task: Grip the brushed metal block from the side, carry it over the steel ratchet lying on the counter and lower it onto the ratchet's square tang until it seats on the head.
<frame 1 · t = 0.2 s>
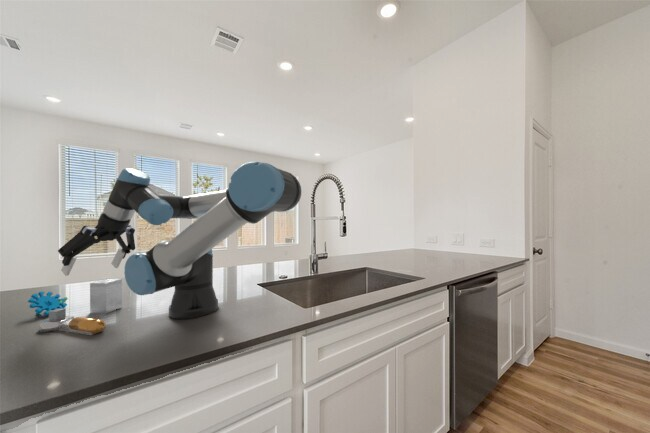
hand: (91, 269, 84), 16 cm above the worktop, tool tilted 35°, fingers open, 13 cm apart
brushed metal block: (106, 310, 90), on the worktop
gear: (49, 314, 87), on the worktop
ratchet: (57, 326, 76), on the worktop
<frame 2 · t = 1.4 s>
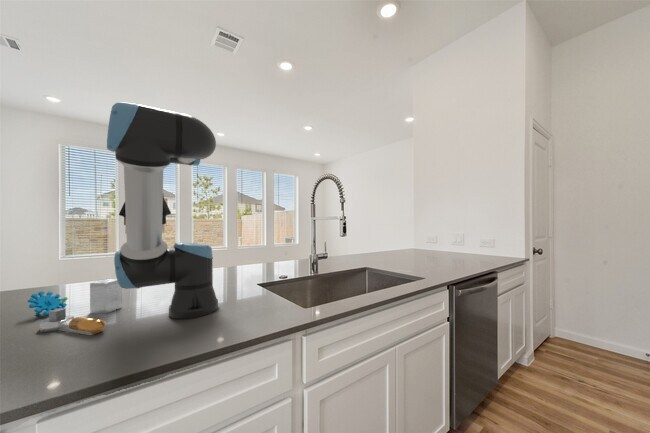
hand: (144, 233, 102), 26 cm above the worktop, tool pointing down, fingers open, 13 cm apart
nothing on the worktop moved.
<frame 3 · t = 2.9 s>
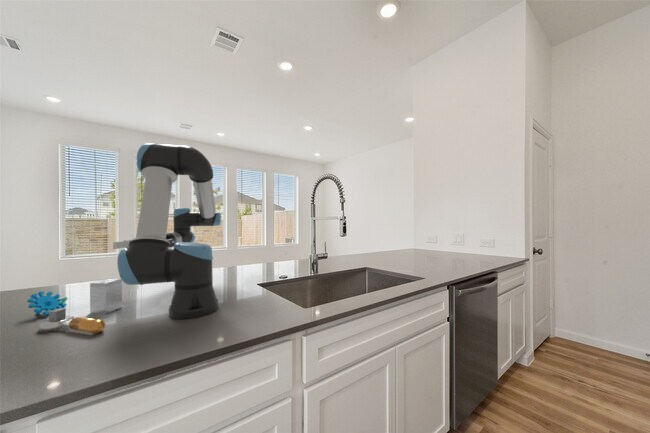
hand: (129, 245, 99), 22 cm above the worktop, tool horizontal, fingers open, 13 cm apart
nothing on the worktop moved.
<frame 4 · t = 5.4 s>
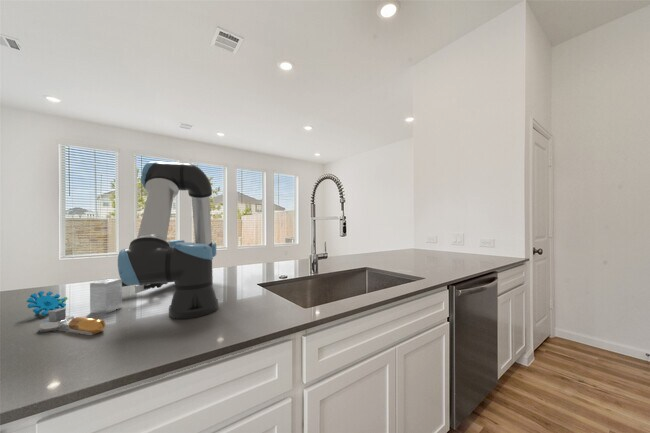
hand: (118, 289, 95), 6 cm above the worktop, tool horizontal, fingers open, 13 cm apart
nothing on the worktop moved.
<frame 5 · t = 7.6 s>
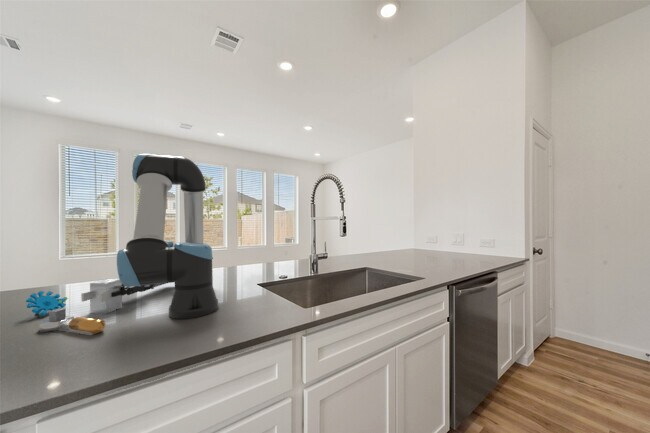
hand: (91, 297, 84), 6 cm above the worktop, tool horizontal, fingers closed on brushed metal block, 6 cm apart
brushed metal block: (106, 310, 90), on the worktop, touching gripper
everything else where it was.
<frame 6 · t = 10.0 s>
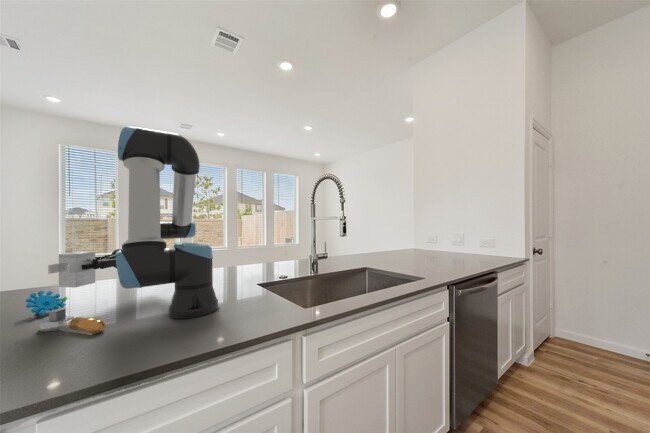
hand: (58, 269, 77), 17 cm above the worktop, tool horizontal, fingers closed on brushed metal block, 6 cm apart
brushed metal block: (77, 284, 82), point 11 cm above the worktop, touching gripper
everything else where it was.
when the fingers open (10 cm above the worktop, at t = 12.4 s): brushed metal block drops 2 cm, resting on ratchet.
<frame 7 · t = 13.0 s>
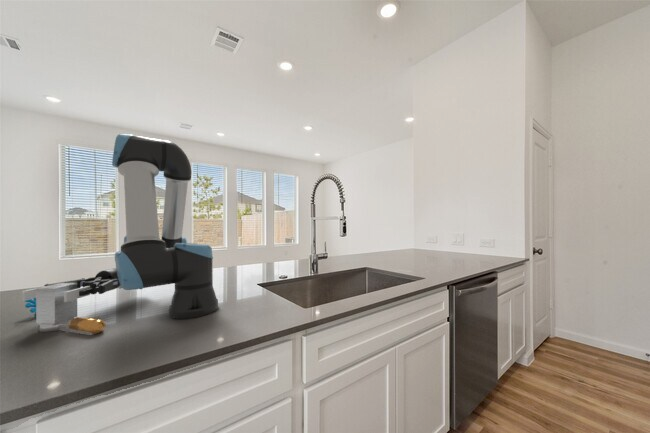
hand: (43, 296, 73), 10 cm above the worktop, tool horizontal, fingers open, 13 cm apart
brushed metal block: (57, 320, 76), point 2 cm above the worktop, touching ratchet
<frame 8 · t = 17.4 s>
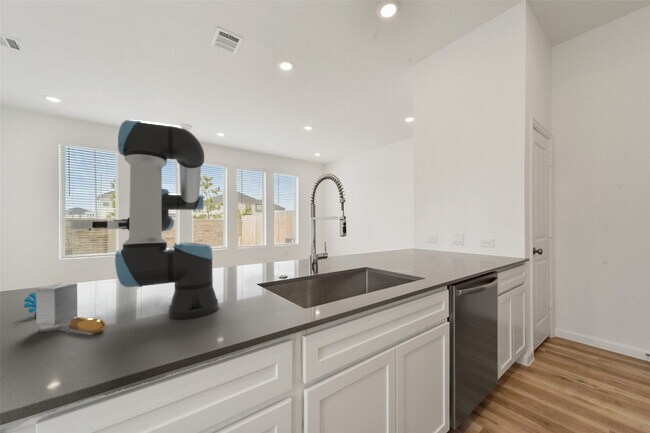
hand: (89, 225, 86), 30 cm above the worktop, tool horizontal, fingers open, 13 cm apart
at the end: brushed metal block 0.1 cm off-centre on the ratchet, point 2.0 cm above the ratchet's base; brushed metal block tilted 0°; the gripper is holding nothing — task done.
